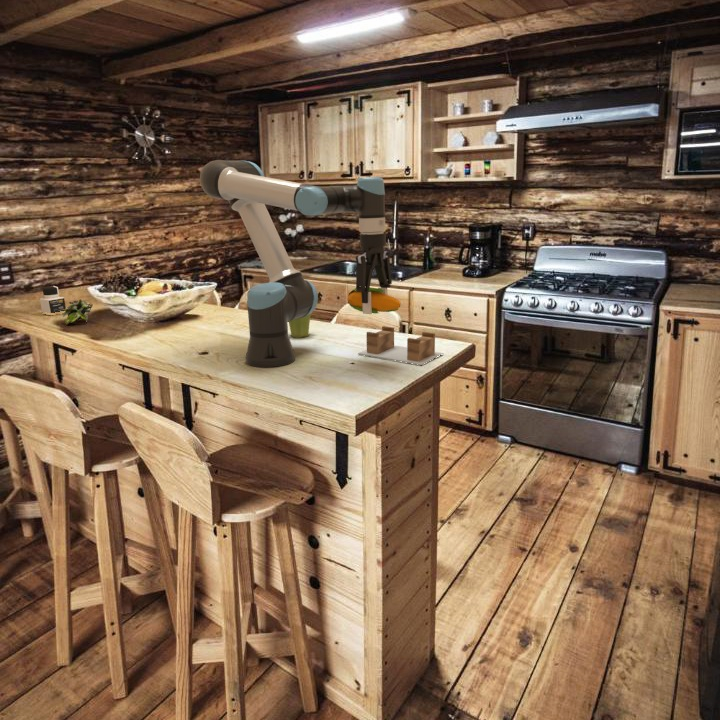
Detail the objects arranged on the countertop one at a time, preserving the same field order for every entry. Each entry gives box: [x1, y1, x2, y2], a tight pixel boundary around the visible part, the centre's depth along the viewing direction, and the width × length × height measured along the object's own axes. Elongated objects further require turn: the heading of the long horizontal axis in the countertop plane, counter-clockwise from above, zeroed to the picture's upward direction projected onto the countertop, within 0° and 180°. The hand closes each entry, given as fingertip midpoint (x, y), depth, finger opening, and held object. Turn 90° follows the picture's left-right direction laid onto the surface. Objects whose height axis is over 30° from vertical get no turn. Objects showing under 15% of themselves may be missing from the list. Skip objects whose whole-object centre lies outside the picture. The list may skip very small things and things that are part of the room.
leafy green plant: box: [61, 299, 94, 325], centre depth 244 cm, size 11×11×12 cm
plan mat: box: [357, 344, 444, 366], centre depth 192 cm, size 14×23×1 cm, turn 55°
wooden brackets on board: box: [366, 325, 436, 361], centre depth 191 cm, size 10×19×7 cm, turn 55°
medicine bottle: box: [39, 285, 67, 313], centre depth 262 cm, size 7×7×12 cm
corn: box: [346, 287, 401, 314], centre depth 179 cm, size 7×8×20 cm
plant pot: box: [288, 312, 313, 339], centre depth 217 cm, size 9×9×9 cm
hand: (375, 311), depth 180 cm, fingers closed on corn, 7 cm apart
